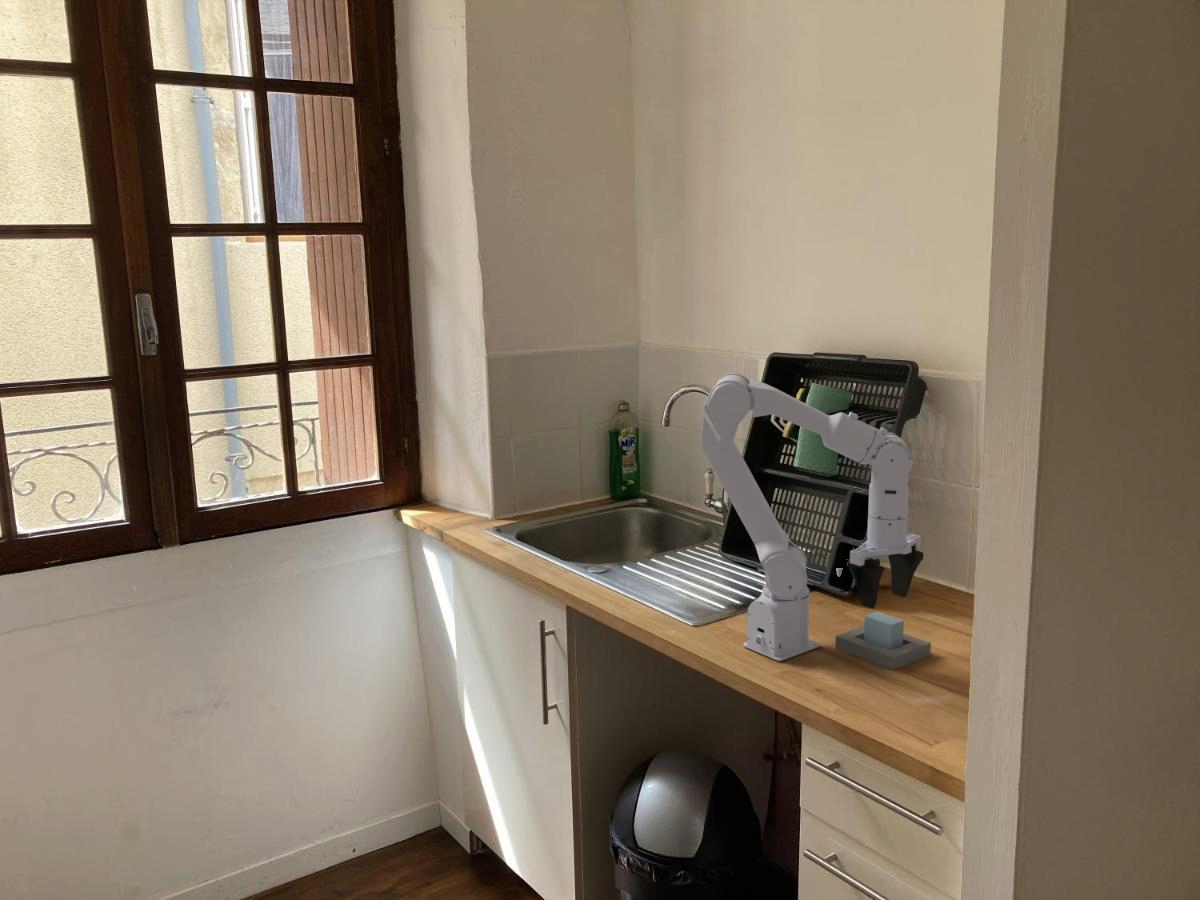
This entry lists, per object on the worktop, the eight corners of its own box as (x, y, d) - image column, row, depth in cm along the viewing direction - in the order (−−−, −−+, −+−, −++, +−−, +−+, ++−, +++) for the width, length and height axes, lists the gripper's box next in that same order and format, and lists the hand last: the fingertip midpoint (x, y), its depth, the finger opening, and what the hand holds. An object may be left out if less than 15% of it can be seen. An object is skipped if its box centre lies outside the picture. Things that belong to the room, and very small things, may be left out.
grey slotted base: (893, 670, 147) (893, 657, 147) (835, 647, 156) (835, 635, 156) (930, 655, 153) (930, 642, 152) (872, 634, 161) (872, 622, 161)
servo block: (890, 656, 151) (891, 625, 150) (863, 646, 155) (864, 615, 154) (902, 651, 153) (903, 620, 152) (876, 641, 157) (877, 611, 156)
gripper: (878, 529, 143) (874, 618, 145) (939, 512, 151) (935, 597, 154) (840, 519, 148) (837, 605, 151) (900, 503, 157) (897, 585, 159)
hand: (883, 600), depth 153 cm, fingers open, 7 cm apart
